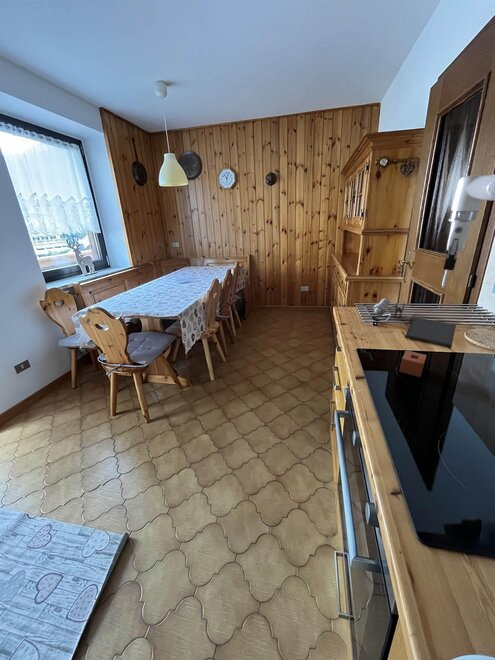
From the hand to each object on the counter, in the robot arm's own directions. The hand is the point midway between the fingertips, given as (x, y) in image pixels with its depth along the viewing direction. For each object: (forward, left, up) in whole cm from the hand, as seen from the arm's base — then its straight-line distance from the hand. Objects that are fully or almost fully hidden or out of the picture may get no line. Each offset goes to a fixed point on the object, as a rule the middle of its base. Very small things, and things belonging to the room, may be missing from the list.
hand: (448, 268), depth 105 cm
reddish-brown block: (+2, +36, -25) cm, 44 cm away
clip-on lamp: (+19, -3, -25) cm, 31 cm away
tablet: (0, +4, -25) cm, 25 cm away
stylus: (0, 0, -8) cm, 8 cm away
